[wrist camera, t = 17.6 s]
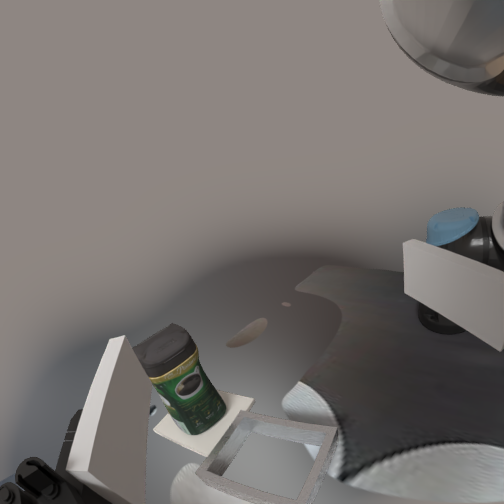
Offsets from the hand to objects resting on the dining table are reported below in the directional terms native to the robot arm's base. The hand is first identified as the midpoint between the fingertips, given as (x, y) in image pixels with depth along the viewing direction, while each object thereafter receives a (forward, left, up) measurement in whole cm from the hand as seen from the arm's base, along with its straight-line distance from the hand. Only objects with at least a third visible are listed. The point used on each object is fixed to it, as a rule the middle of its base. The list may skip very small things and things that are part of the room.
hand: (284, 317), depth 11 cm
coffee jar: (-10, -26, -31) cm, 42 cm away
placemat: (-10, -26, -32) cm, 42 cm away
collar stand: (-5, -10, -32) cm, 34 cm away
